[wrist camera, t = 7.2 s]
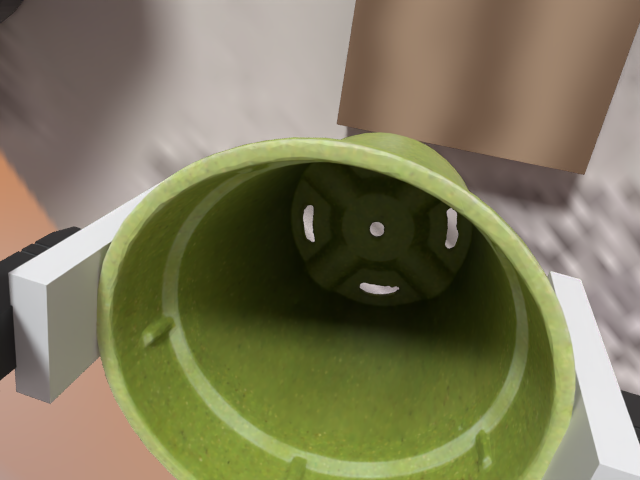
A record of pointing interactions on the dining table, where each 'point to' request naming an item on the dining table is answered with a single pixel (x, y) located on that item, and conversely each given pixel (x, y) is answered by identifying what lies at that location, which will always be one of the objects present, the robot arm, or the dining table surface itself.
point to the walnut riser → (489, 74)
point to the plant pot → (332, 321)
